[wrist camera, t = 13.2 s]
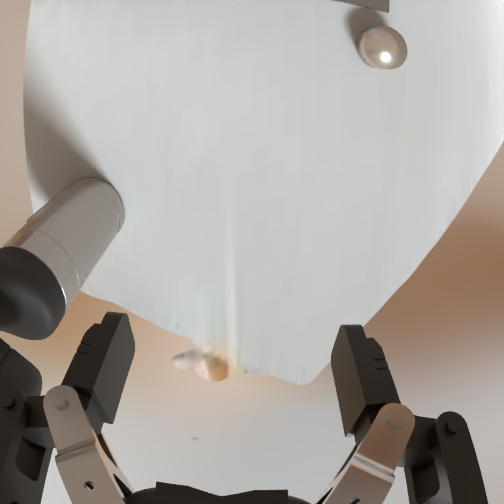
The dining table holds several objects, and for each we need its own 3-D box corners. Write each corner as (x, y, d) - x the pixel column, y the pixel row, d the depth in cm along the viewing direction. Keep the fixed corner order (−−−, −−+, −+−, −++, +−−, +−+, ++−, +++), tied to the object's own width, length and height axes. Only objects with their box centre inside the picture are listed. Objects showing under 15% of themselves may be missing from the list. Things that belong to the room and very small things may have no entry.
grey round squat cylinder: (354, 64, 30) (363, 63, 27) (357, 24, 27) (366, 21, 25) (394, 72, 30) (405, 73, 28) (397, 34, 28) (408, 32, 25)
